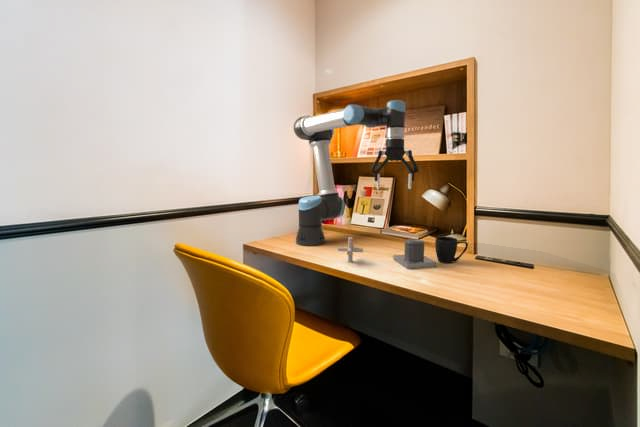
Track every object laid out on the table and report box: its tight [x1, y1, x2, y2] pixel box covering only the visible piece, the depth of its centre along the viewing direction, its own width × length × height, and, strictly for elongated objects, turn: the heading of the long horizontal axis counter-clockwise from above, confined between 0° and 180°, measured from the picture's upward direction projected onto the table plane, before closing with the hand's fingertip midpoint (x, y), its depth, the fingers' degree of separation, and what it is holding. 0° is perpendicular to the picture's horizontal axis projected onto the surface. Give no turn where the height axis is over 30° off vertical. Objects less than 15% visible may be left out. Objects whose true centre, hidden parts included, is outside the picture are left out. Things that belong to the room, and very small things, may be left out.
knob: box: [403, 238, 425, 261], centre depth 126 cm, size 7×7×7 cm
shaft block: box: [392, 254, 437, 270], centre depth 126 cm, size 12×12×8 cm
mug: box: [434, 236, 469, 265], centre depth 127 cm, size 8×12×10 cm
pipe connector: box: [337, 236, 364, 263], centre depth 129 cm, size 10×10×10 cm
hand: (393, 188), depth 137 cm, fingers open, 13 cm apart
